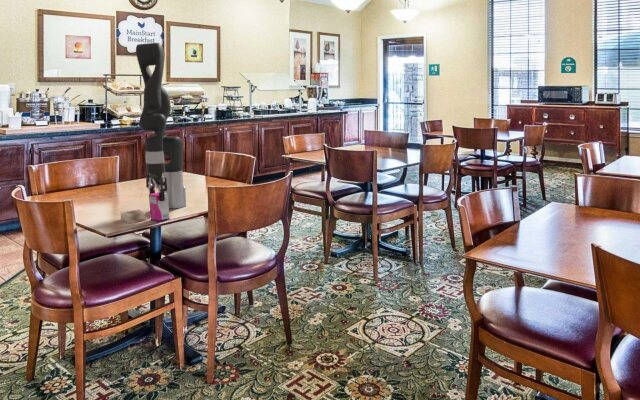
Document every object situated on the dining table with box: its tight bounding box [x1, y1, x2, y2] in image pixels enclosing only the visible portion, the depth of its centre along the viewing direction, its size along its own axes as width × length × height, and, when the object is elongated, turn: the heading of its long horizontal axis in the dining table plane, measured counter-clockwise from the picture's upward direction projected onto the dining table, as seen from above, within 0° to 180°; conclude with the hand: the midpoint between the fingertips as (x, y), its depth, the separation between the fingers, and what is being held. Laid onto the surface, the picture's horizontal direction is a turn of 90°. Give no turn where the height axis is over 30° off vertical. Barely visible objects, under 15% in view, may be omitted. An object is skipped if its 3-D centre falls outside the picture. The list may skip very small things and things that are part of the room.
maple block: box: [120, 209, 148, 224], centre depth 232 cm, size 8×8×4 cm
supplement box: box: [148, 191, 171, 223], centre depth 231 cm, size 6×6×12 cm
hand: (157, 199), depth 230 cm, fingers open, 8 cm apart
